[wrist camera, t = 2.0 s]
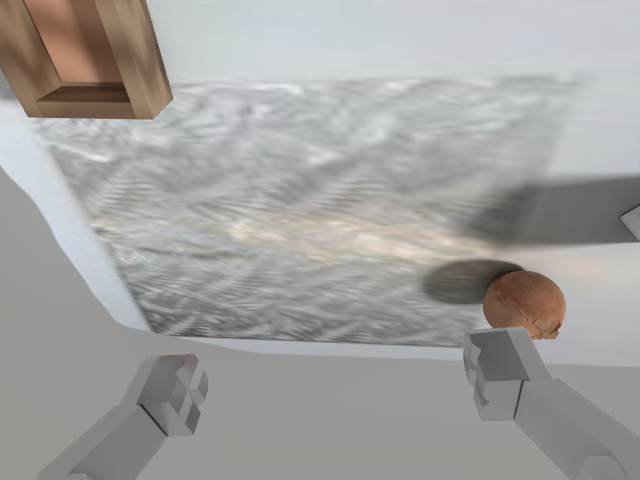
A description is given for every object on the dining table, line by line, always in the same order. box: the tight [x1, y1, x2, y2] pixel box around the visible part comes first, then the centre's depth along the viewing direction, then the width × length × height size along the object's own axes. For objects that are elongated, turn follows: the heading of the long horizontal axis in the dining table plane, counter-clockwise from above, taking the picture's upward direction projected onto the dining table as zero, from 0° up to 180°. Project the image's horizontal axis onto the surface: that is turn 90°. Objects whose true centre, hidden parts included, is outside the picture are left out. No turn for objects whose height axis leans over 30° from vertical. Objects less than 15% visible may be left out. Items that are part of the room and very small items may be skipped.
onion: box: [483, 271, 566, 340], centre depth 47 cm, size 10×9×10 cm
